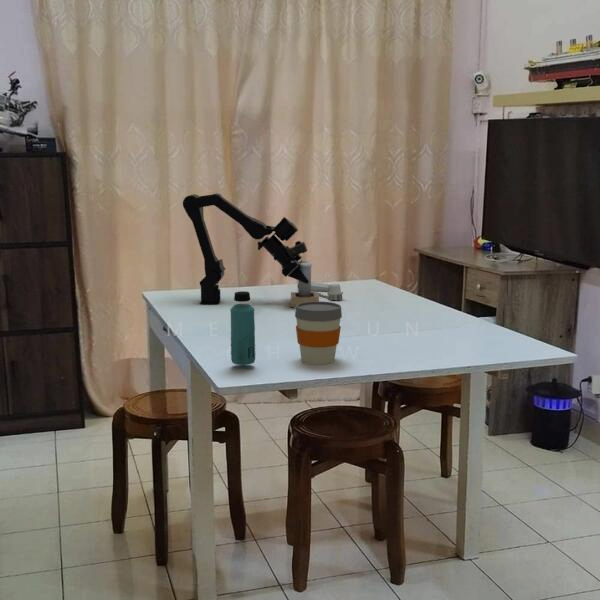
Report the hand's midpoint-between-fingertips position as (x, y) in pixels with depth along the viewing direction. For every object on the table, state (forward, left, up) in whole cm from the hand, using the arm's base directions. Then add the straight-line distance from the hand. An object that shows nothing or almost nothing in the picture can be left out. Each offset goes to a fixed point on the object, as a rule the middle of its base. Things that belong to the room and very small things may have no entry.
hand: (308, 281), depth 284 cm
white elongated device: (+5, +17, -9) cm, 20 cm away
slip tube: (-1, 0, -7) cm, 7 cm away
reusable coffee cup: (-1, -72, -9) cm, 72 cm away
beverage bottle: (-21, -78, -9) cm, 81 cm away
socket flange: (-1, 0, -8) cm, 9 cm away
